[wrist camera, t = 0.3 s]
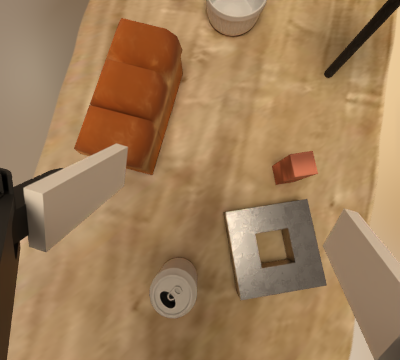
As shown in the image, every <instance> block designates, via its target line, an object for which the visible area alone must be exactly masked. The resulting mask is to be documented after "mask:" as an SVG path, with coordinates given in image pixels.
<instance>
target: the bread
mask: <svg viewBox="0 0 400 360" xmlns="http://www.w3.org/2000/svg"><path fill="white" fill-rule="evenodd" d="M181 53H182V48H181V45H180V43H179V40H178V38H177V36H175V35H174V34H173V33H171V32H170V31H169V30H167V29H164V28H160V27H156V26H152V25H148V24H144V23H140V22H136V21H131V20H127V19H123V18H121V20H120V22H119V24H118V27H117V30H116V33H115V35H114V38H113V41H112V44H111V47H110V49H109V52H108V55H107V58H106V61H105V64H104V66H103V69H102V72H101V75H100V78H99V80H98V83H97V86H96V89H95V92H94V94H93V97H92V100H91V103H90V104H91V105H89V108H88V111H87V114H86V117H85V119H84V122H83V125H82V128H81V131H80V134H79V136H78V139H77V142H76V145H75V148H74V149H75V150H76V151H78V152H79V153H80V154H83V155H87V156H91V155H93V154H95V153H97V152H99V151H102V150H104V149H106V148H108V147H110V146H112V145H114V144H120V145H123V146H127V147H128V152H127V161H126V168H127V169H131V170H135V171H139V172H143V173H146V174H150V175H152V174H153V171H154V168H155V164H156V161H157V158H158V154H159V151H160V148H161V144H162V141H163V138H164V134H165V131H166V128H167V124H168V121H169V118H170V114H171V111H172V108H173V104H174V101H175V98H176V94H177V91H178V88H179V84H180V81H181V78H182V74H183V72H182V63H181Z"/></svg>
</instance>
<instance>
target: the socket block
mask: <svg viewBox="0 0 400 360" xmlns="http://www.w3.org/2000/svg"><path fill="white" fill-rule="evenodd" d="M223 213H224V219H225V225H226V230H227V236H228V242H229V248H230V254H231V259H232V265H233V271H234V277H235V283H236V288H237V293H238V295H239V297H240V299H241V300H245V299H251V298H257V297H262V296H268V295H274V294H280V293H285V292H291V291H297V290H303V289H308V288H314V287H320V286H326V280H325V276H324V271H323V267H322V262H321V258H320V254H319V249H318V245H317V240H316V236H315V231H314V227H313V223H312V218H311V214H310V209H309V205H308V201H307V199H304V200H298V201H291V202H285V203H279V204H273V205H267V206H260V207H254V208H248V209H242V210H236V211H230V212H223ZM279 229H281V230H282V235H283V240H284V245H285V249H286V254H287V259H284V260H278V261H272V262H266V263H261V262H260V257H259V252H258V246H257V241H256V236H255V233H261V232H267V231H273V230H279Z"/></svg>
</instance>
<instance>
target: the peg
mask: <svg viewBox="0 0 400 360" xmlns="http://www.w3.org/2000/svg"><path fill="white" fill-rule="evenodd" d="M272 168H273V173H274V178H275V183H276V185H277V184H283V183H290V182H295V181H298V180H301V179H303V178H306V177H309V176H312V175H315V174H318V172H317V168H316V163H315V159H314V155H313V151H309V152H302V153H296V154H290V155H288V156H287V157H285V158H284V159H282V160H281V161H279V162H278V163H276V164H275V165H273V166H272Z"/></svg>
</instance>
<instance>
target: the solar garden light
mask: <svg viewBox="0 0 400 360" xmlns="http://www.w3.org/2000/svg"><path fill="white" fill-rule="evenodd" d="M399 6H400V0H388V1H387V2H386V3H385V4H384V5H383V6H382V8H381V9H380V10H379V11H378V12H377V13H376V14H375V16H374V17H373V18H372V19H371V20H370V21H369V22H368V24H367V25H366V26H365V27H364V28H363V29H362V30H361V31H360V33H359V34H358V35H357V36H356V37H355V38H354V39H353V41H352V42H351V43H350V44H349V45H348V46H347V47H346V48H345V50H344V51H343V52H342V53H341V54H340V55H339V56H338V58H337V59H336V60H335V61H334V62H333V63H332V64H331V65H330V67H329V68H328V69H327V70H326V71H325V73H324V75H325V77H327V78H330V77H332V76H333V75H334V74H335V73H336V72H337V71H338V69H339V68H340V67H341V66H342V65H343V64H344V63H345V62H346V61H347V60H348V59H349V58H350V57H351V56H352V55H353V54H354V53H355V52H356V51H357V50H358V49H359V48H360V47H361V46H362V44H363V43H364V42H365V41H366V40H367V39H368V38H369V37H370V36H371V35H372V34H373V33H374V32H375V31H376V30H377V29H378V28H379V27H380V26H381V25H382V24H383V23H384V22H385V21H386V20H387V18H388V17H389V16H390V15H391V14H392V13H393V12H394V11H395V10H396V9H397V8H398V7H399Z"/></svg>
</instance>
